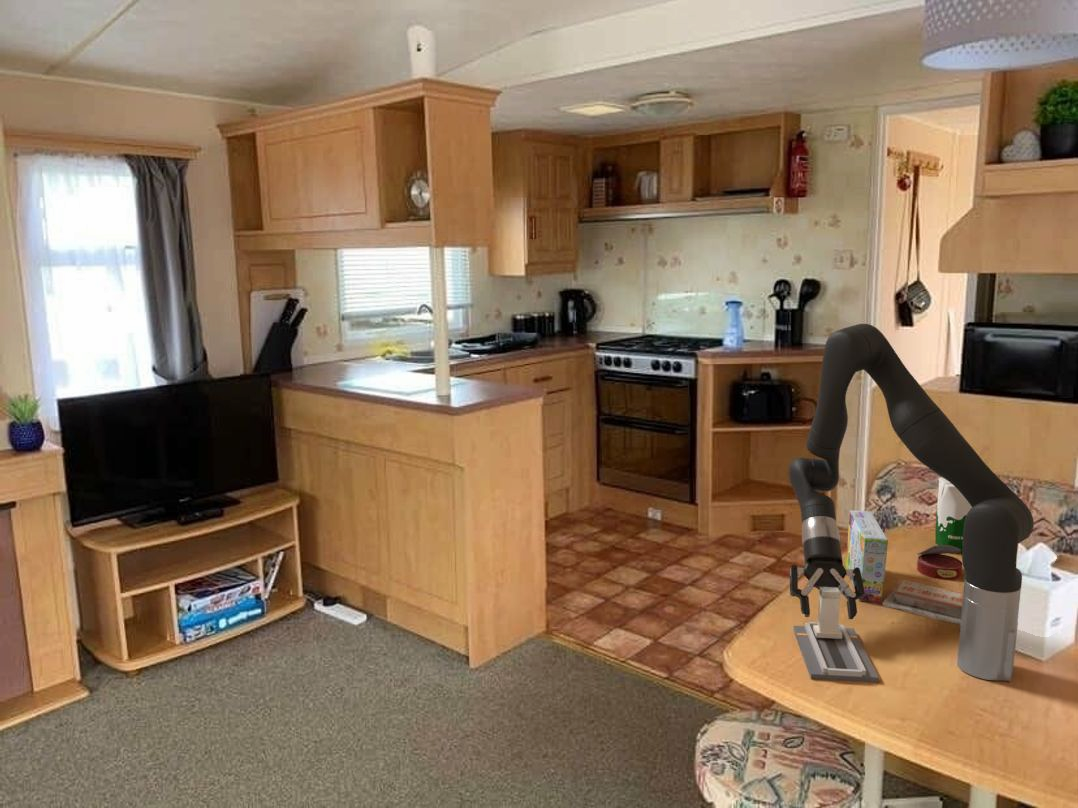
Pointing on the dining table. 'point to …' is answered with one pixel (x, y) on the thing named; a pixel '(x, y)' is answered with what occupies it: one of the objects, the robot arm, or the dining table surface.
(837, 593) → the fader tab
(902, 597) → the packaged product
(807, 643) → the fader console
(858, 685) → the dining table surface
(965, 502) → the milk carton
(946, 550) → the canned food
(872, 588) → the snack box
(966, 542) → the robot arm
